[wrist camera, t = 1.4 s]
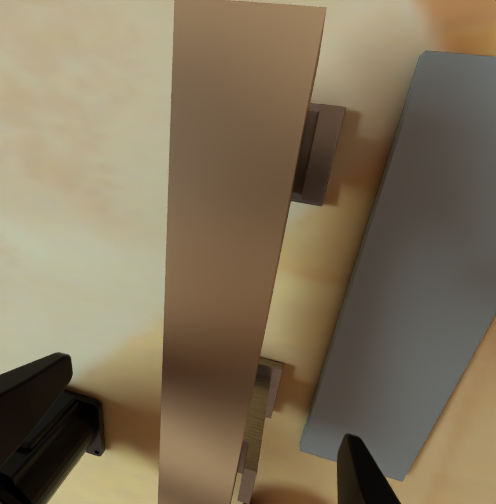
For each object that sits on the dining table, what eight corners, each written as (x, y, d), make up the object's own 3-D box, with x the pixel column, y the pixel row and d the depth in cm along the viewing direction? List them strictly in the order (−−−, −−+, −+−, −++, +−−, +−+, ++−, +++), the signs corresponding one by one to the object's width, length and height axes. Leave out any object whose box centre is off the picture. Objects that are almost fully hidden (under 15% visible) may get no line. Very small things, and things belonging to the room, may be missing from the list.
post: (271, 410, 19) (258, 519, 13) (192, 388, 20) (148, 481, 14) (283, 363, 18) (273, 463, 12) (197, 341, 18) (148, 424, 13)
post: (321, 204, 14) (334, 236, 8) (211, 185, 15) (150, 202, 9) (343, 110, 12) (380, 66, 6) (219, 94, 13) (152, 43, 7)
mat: (399, 471, 19) (402, 481, 18) (299, 442, 20) (299, 451, 19) (614, 73, 10) (631, 69, 10) (419, 56, 11) (426, 50, 11)
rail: (234, 486, 15) (218, 562, 12) (183, 469, 15) (156, 539, 12) (318, 62, 8) (326, 7, 5) (219, 52, 8) (174, -4, 5)
